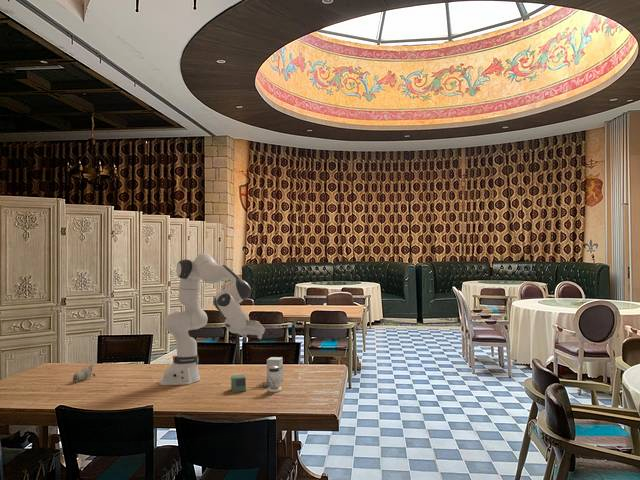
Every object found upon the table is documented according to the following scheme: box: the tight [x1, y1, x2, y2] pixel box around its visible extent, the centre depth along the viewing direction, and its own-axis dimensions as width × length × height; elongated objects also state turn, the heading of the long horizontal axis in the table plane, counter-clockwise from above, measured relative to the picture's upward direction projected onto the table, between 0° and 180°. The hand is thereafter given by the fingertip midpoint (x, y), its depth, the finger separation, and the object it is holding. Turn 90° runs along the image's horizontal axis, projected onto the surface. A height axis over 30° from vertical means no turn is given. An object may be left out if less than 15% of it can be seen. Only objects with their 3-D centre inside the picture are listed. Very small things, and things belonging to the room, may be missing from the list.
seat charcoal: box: [263, 381, 270, 389], centre depth 270 cm, size 7×7×1 cm
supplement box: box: [266, 356, 284, 384], centre depth 279 cm, size 7×7×13 cm
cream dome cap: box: [267, 386, 283, 393], centre depth 261 cm, size 7×7×1 cm
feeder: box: [230, 374, 247, 393], centre depth 263 cm, size 7×7×7 cm
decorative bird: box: [72, 364, 96, 383], centre depth 292 cm, size 5×16×7 cm, turn 167°
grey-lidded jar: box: [269, 365, 280, 389], centre depth 261 cm, size 5×5×11 cm
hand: (252, 337), depth 251 cm, fingers open, 8 cm apart
